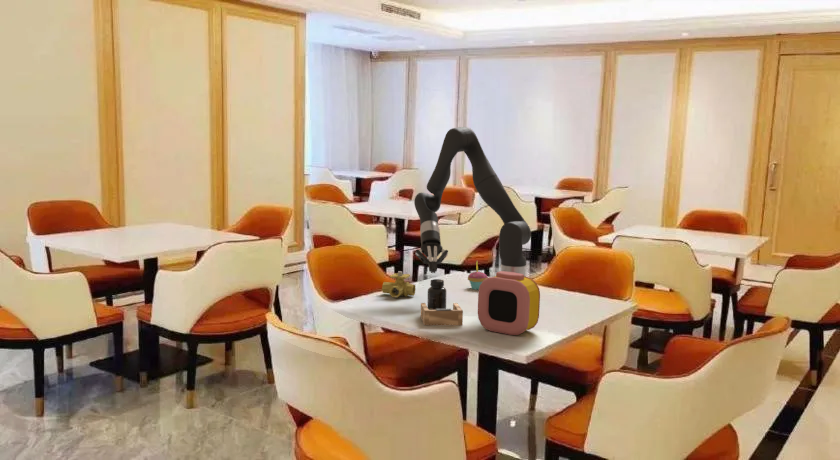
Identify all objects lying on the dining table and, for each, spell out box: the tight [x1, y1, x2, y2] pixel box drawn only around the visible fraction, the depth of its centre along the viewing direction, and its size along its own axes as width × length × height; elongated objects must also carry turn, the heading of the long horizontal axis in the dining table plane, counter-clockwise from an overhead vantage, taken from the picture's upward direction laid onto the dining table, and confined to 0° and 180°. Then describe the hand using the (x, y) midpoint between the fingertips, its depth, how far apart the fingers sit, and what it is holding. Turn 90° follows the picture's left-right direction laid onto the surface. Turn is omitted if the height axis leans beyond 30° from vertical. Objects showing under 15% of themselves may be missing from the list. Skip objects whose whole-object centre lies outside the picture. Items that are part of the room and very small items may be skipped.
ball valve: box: [381, 270, 416, 298], centre depth 290 cm, size 13×10×10 cm
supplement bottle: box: [426, 278, 447, 310], centre depth 265 cm, size 7×7×12 cm
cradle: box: [420, 302, 464, 326], centre depth 254 cm, size 12×13×5 cm
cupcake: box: [467, 261, 489, 290], centre depth 310 cm, size 9×8×12 cm
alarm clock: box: [477, 270, 541, 336], centre depth 243 cm, size 18×11×19 cm, turn 56°
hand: (433, 271), depth 276 cm, fingers closed
